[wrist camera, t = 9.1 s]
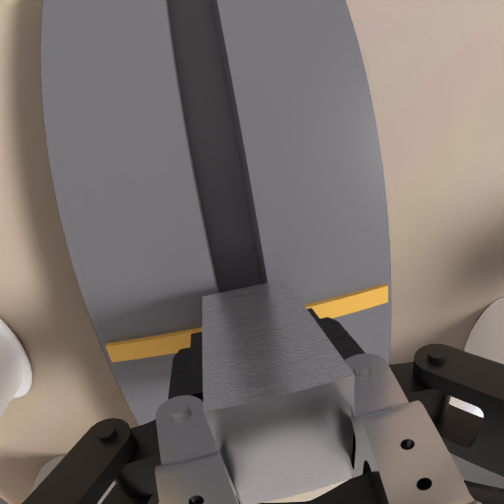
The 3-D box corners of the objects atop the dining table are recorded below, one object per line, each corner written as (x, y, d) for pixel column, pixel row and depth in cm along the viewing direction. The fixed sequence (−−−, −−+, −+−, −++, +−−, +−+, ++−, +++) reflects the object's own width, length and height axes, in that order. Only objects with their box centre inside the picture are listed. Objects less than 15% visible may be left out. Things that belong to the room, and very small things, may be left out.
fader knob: (203, 271, 14) (203, 411, 5) (269, 257, 14) (354, 374, 6) (221, 347, 15) (243, 505, 7) (281, 334, 15) (350, 478, 7)
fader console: (68, -25, 10) (48, -53, 7) (294, -62, 11) (309, -94, 8) (164, 430, 17) (161, 469, 14) (364, 385, 18) (386, 416, 15)
